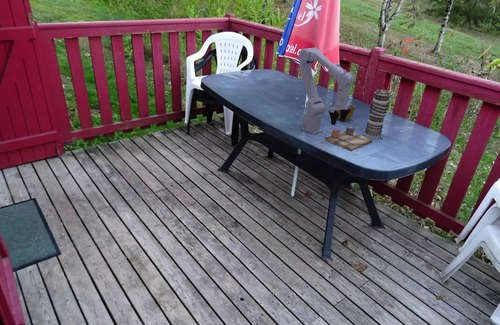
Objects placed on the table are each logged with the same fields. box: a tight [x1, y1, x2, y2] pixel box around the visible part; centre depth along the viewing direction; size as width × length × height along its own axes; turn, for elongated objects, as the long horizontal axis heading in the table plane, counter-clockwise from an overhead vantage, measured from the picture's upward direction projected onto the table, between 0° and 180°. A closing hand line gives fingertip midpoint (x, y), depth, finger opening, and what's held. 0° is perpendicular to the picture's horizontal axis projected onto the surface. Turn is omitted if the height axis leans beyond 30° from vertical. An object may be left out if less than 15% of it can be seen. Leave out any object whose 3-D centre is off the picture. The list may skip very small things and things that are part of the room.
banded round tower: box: [364, 88, 391, 139], centre depth 191 cm, size 9×9×25 cm
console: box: [325, 130, 373, 152], centre depth 187 cm, size 16×19×2 cm
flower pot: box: [337, 104, 357, 122], centre depth 214 cm, size 9×9×9 cm
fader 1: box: [330, 128, 341, 138], centre depth 186 cm, size 3×3×4 cm
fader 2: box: [345, 125, 356, 135], centre depth 191 cm, size 3×3×4 cm
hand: (337, 123), depth 183 cm, fingers open, 7 cm apart
